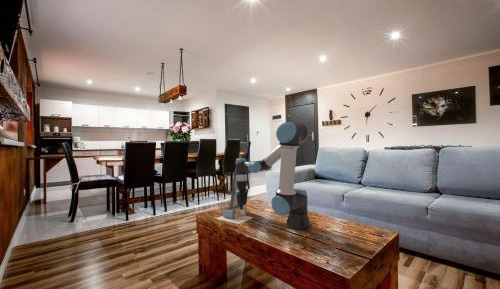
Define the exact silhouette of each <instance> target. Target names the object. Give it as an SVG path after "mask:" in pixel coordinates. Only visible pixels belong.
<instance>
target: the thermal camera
mask: <svg viewBox="0 0 500 289" xmlns="http://www.w3.org/2000/svg"><path fill="white" fill-rule="evenodd" d="M236 181H237V180H236V167H235V169H234V173H233V177H232V183H231V194H230V204H229V207H228V209H227V210H229V211H233V209H235V211H237V210H240V205H239V204H238V202H237V196H236V193H235V192H237V189H238V186H237V183H236Z"/></svg>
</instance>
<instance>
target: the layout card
mask: <svg viewBox="0 0 500 289" xmlns="http://www.w3.org/2000/svg"><path fill="white" fill-rule="evenodd" d="M251 219H254V216H248V215H246V216H244V217H240V218H236V214H235V219H233V218H232V219H231V218H227V217H223V215H222V216H221V215H220V216H219V217H216V220H219V221H224V222H227V223H231V224H235V225H241V224H243V223H246V222H248V221H249V220H251Z"/></svg>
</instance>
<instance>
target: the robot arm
mask: <svg viewBox="0 0 500 289" xmlns="http://www.w3.org/2000/svg"><path fill="white" fill-rule="evenodd" d="M275 133H276V134H275V136H276V139H277V140H278V144H279V145H277V147H275V148H274V149H273V150H272V151H270V153H269V154H267V155H266V156H265V157H264V158H263V159H262V160H255V161H248V160H247V158H243V157H242V158H236V159H235V168H236V180H237V181H236V183H237V186H238V189H237V192H235V193H236V196H237V202H238V204H239V205H240V210H241V214H245V208H246V205H247V202H248V194H249V188H247V186H248V173H249V174H258V173H259V172H265V171H266V172H267V171H270V170H271V169H272V168H273V166H274V165H275V164H276V163H277V162H278V161H280V169H279V180H278V181H279V182H278V184H279V185H278V188H277V189H276V190H275V196H273V197H272V198H271V202H270V203H271V204H270V205H271V207H272V210H273V211H274V213H276V214H277V215H278V216H281V217H282V216H287V215H288V216H287V219H286V227H287V228H289V229H292V230H298V231H300V230H301V231H303V230H308V229H310V228H311V226H312V225H311V223H312V222H311V220H310V217H309V214H308V208H309V207H308V192H307V190H306V189H301V188H300V189H299V188H294V187H295V175H296V173H295V172H296V165H297V164H296V162H297V151H298V148H300V146H301V145H302V144H304V142H305V141H306V140H308V138H309V134H310V133H309V128H308V127H307V126H306V125H305V124H303V123H301V122H292V121H288V122H282V123H281V124H279V125H278V127H277V129H276V132H275Z"/></svg>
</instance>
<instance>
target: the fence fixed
mask: <svg viewBox="0 0 500 289" xmlns="http://www.w3.org/2000/svg"><path fill="white" fill-rule="evenodd" d="M222 212H223V213H222V216H223V217H227V218H231V219H232V218H233V219H235V209H233V211H229V210H228V209H226V208H225V207H224V208H223V209H222Z"/></svg>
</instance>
